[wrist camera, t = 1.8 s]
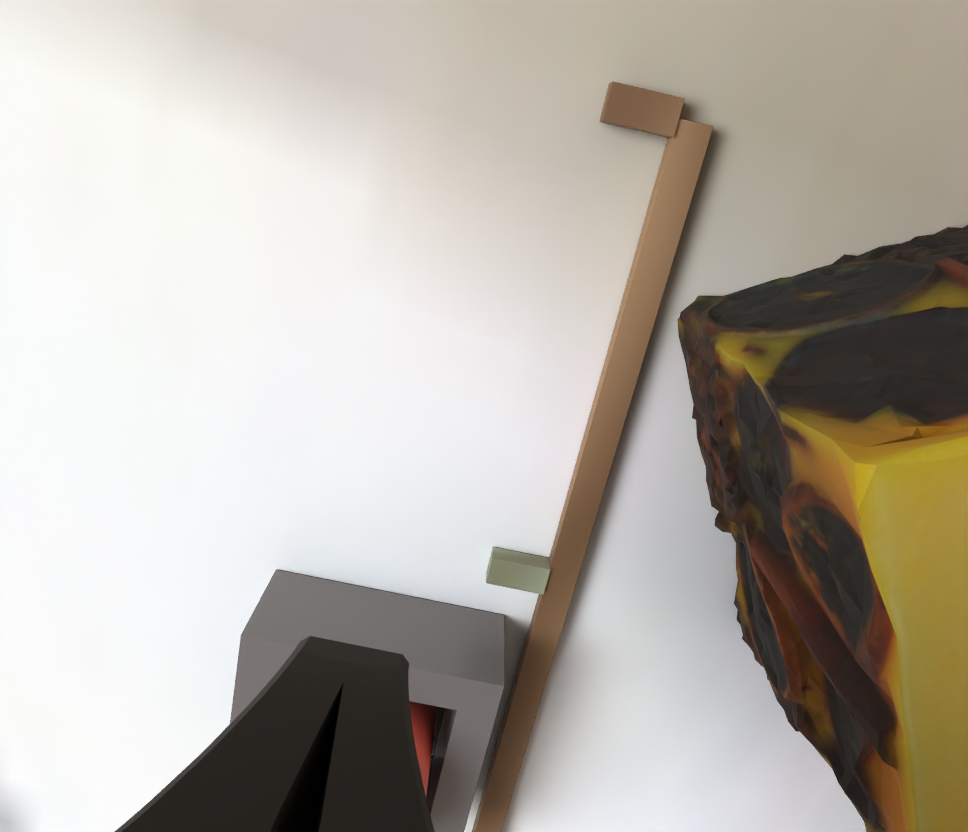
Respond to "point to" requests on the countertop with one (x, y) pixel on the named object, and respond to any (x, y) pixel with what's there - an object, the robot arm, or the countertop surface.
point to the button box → (400, 629)
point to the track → (595, 428)
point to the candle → (851, 510)
